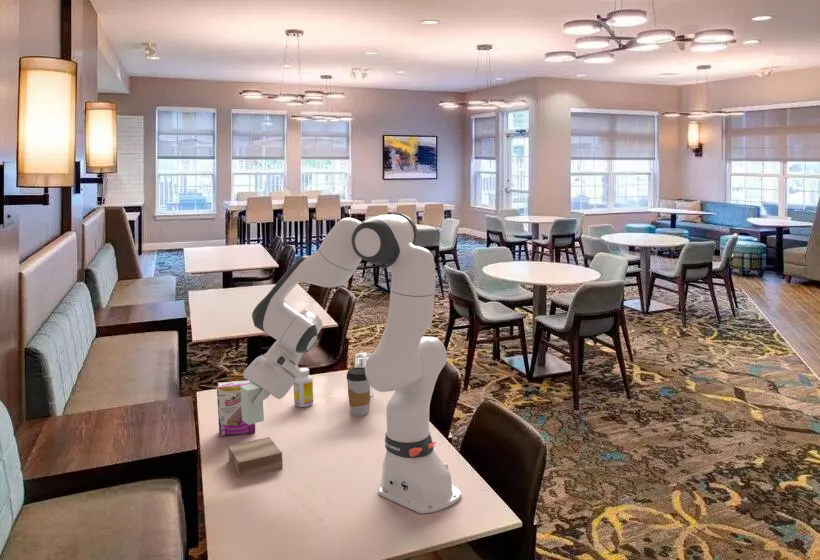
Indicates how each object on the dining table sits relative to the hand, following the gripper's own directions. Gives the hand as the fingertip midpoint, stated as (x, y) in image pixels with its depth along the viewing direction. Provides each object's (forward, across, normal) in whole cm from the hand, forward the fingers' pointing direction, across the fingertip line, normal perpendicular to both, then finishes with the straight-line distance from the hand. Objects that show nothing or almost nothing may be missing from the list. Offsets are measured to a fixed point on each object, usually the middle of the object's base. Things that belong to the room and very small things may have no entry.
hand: (249, 401), depth 176 cm
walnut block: (+13, 0, +14) cm, 19 cm away
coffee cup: (-18, -13, +45) cm, 50 cm away
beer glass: (-26, -26, +53) cm, 64 cm away
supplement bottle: (-10, -32, +38) cm, 50 cm away
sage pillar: (+4, 0, +5) cm, 6 cm away
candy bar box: (+10, -24, +18) cm, 31 cm away
